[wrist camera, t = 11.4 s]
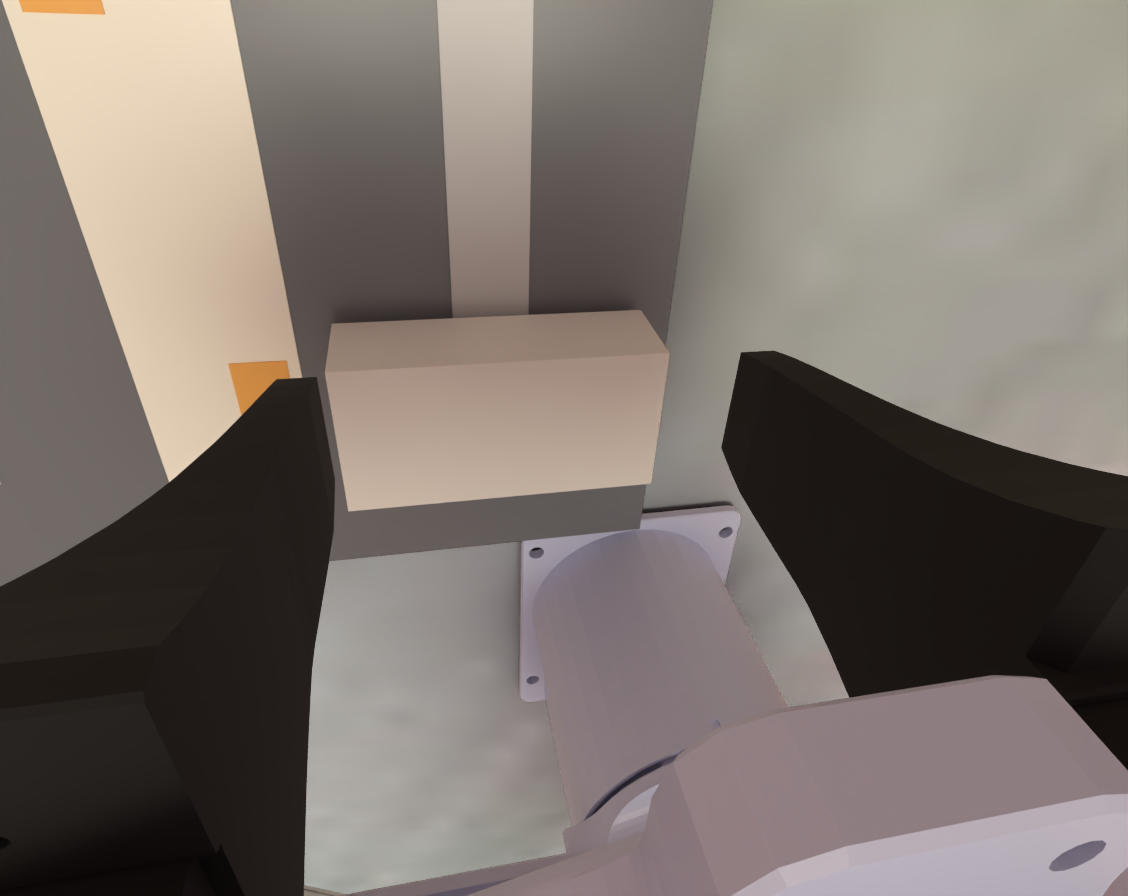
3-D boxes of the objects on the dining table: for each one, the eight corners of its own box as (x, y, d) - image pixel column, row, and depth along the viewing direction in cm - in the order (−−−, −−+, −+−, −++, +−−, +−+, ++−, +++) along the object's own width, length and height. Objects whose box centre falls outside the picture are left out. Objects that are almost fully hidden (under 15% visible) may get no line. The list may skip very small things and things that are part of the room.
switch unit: (631, 510, 25) (640, 530, 24) (-159, 587, 21) (-183, 616, 20) (778, -630, 12) (810, -677, 11) (-1464, -1120, 7) (-1723, -1269, 6)
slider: (626, 432, 22) (650, 483, 20) (352, 454, 20) (348, 511, 18) (640, 309, 19) (669, 353, 17) (331, 324, 18) (324, 372, 16)
